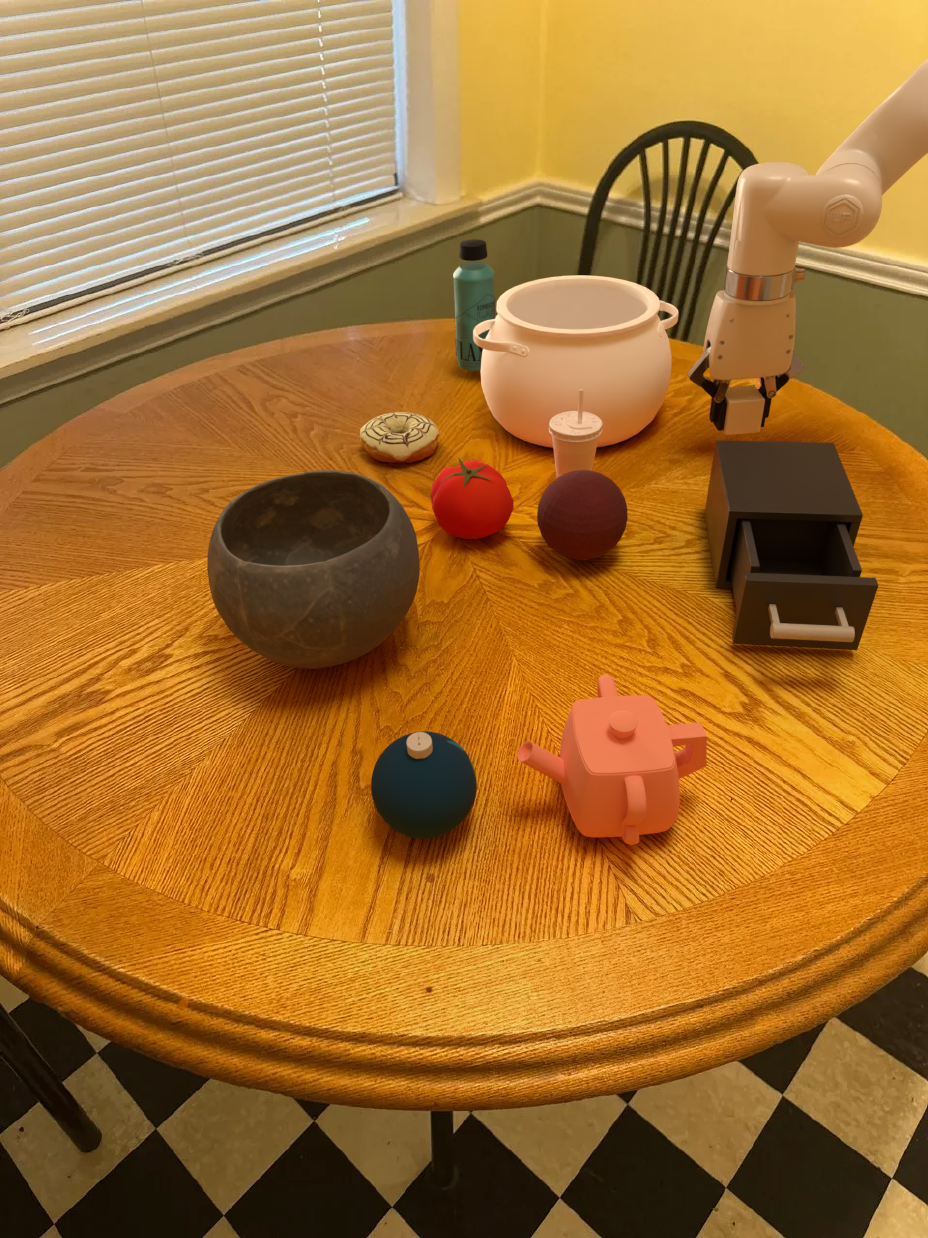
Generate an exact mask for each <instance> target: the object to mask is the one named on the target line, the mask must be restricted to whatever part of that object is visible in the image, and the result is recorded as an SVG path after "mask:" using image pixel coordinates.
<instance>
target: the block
mask: <svg viewBox="0 0 928 1238" xmlns="http://www.w3.org/2000/svg"><path fill="white" fill-rule="evenodd" d="M757 389H758V388H757V387H756V386H755V384H750V385H749V384H748V385H739V386H729V387H728V389H727V392H726V395H725V401H726V402H727V409H726V417H725V424H724V429H723V430H722V433H723V434H724V435H725V436H730V435H731V436H732V435H743V434H755V433H760V432H761V429H762V427H761V422H762V416H763V410H764V403H765V399H764V398H763V396H762V395H761V394H760V392H759V391H758V390H757Z"/></svg>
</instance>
